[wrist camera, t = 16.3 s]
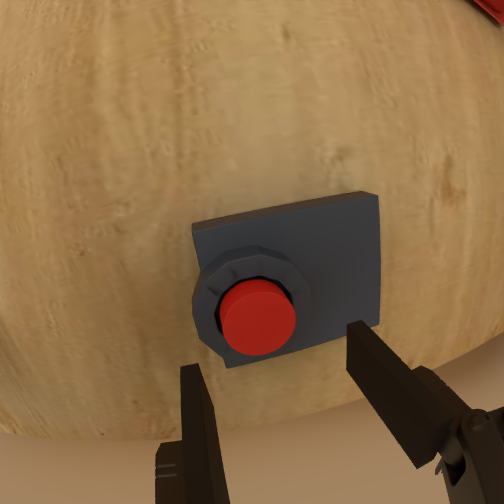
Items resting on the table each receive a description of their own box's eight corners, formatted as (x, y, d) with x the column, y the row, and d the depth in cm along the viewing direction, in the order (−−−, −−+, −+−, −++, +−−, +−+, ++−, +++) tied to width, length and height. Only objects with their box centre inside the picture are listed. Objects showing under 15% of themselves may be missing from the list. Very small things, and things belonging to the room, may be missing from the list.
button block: (210, 354, 22) (215, 389, 19) (176, 226, 19) (173, 243, 15) (366, 311, 24) (391, 336, 20) (361, 190, 21) (394, 199, 17)
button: (227, 345, 18) (231, 362, 17) (212, 287, 17) (215, 301, 15) (290, 329, 19) (299, 345, 17) (282, 271, 17) (292, 283, 16)
